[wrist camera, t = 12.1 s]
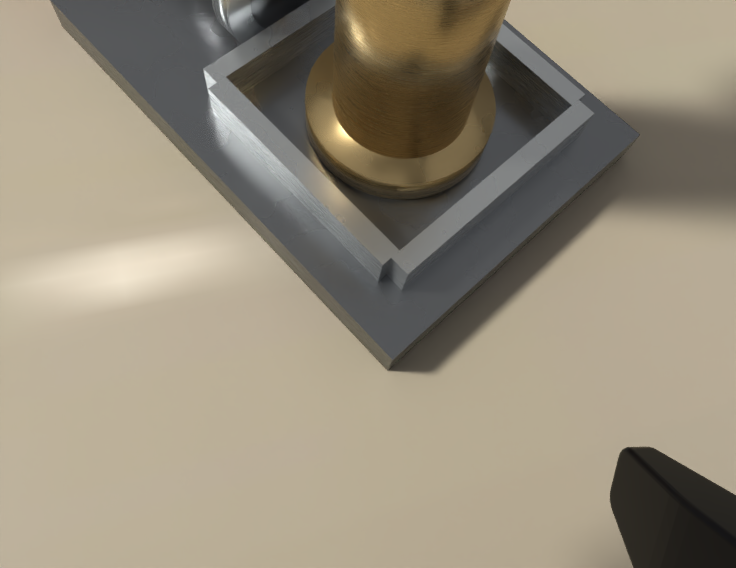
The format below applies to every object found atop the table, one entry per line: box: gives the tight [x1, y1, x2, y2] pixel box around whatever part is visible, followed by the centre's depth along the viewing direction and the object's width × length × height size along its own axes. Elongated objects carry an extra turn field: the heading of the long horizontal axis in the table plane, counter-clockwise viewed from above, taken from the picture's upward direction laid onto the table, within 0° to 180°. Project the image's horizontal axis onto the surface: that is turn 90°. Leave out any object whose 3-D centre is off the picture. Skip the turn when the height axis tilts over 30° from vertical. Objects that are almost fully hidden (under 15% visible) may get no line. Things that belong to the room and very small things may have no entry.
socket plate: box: [50, 0, 640, 370], centre depth 25 cm, size 20×14×7 cm
